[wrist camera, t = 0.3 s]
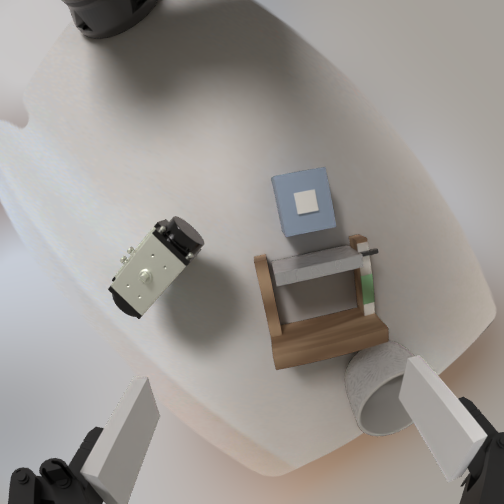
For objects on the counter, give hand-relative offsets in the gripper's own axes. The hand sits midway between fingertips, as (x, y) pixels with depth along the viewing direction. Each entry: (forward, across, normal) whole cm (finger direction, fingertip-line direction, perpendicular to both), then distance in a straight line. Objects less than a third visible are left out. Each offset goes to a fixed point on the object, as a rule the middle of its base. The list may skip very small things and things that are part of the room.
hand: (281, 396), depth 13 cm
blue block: (+27, +5, +8) cm, 28 cm away
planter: (+27, +17, -19) cm, 37 cm away
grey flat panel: (+26, +8, +1) cm, 27 cm away
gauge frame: (+27, +7, -4) cm, 28 cm away
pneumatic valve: (+27, -12, +2) cm, 30 cm away
